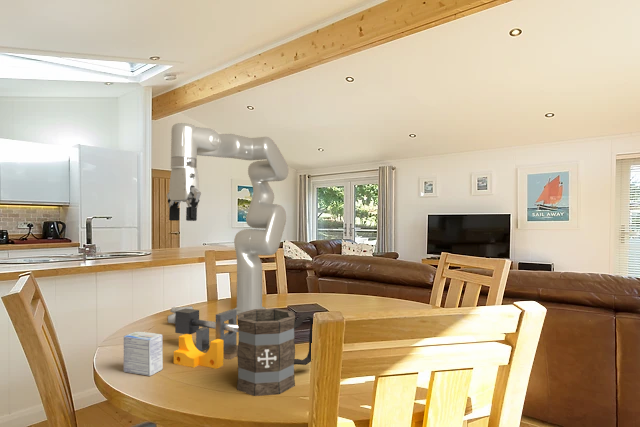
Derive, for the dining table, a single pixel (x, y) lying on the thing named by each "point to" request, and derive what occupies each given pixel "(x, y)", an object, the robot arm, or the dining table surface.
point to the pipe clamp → (198, 353)
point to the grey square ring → (220, 334)
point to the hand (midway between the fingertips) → (182, 220)
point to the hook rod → (195, 322)
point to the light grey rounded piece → (172, 317)
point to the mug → (268, 350)
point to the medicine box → (143, 353)
